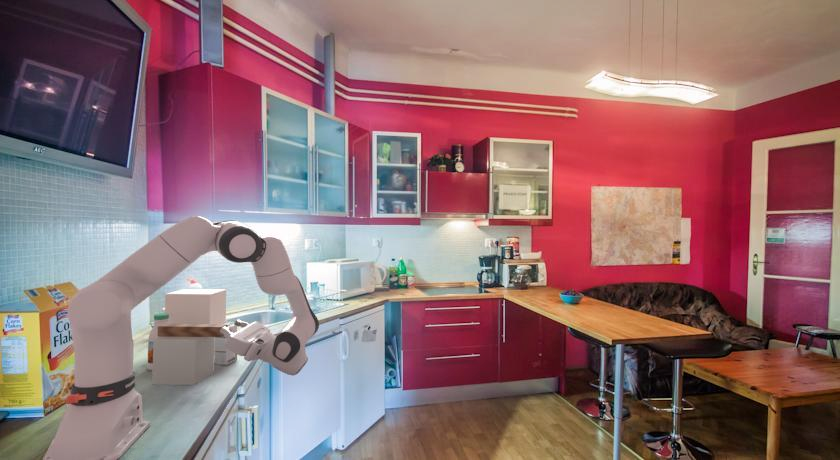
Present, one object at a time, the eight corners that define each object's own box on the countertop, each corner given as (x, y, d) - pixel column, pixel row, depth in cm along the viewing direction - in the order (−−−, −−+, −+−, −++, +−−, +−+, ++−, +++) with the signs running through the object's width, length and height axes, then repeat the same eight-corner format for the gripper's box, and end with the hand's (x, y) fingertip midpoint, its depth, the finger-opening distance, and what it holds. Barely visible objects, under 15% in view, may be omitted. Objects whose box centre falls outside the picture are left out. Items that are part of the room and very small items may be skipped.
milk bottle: (143, 368, 130) (144, 314, 130) (166, 361, 137) (167, 310, 137) (154, 372, 126) (155, 317, 126) (177, 365, 133) (178, 313, 133)
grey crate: (213, 371, 128) (214, 331, 128) (194, 385, 117) (195, 340, 117) (174, 371, 127) (175, 330, 127) (152, 384, 116) (153, 339, 116)
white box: (225, 348, 153) (226, 289, 153) (208, 358, 141) (210, 294, 141) (183, 348, 152) (184, 288, 153) (163, 358, 140) (165, 293, 141)
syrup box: (226, 365, 134) (227, 327, 134) (213, 364, 135) (214, 326, 135) (237, 360, 140) (237, 323, 140) (224, 358, 141) (225, 322, 141)
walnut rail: (227, 334, 124) (227, 324, 124) (221, 337, 121) (221, 327, 121) (164, 333, 124) (164, 323, 124) (157, 336, 120) (157, 326, 120)
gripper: (279, 328, 133) (247, 310, 133) (255, 346, 113) (217, 325, 113) (270, 343, 133) (239, 324, 133) (244, 363, 113) (207, 341, 112)
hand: (229, 325), depth 123 cm, fingers open, 8 cm apart
